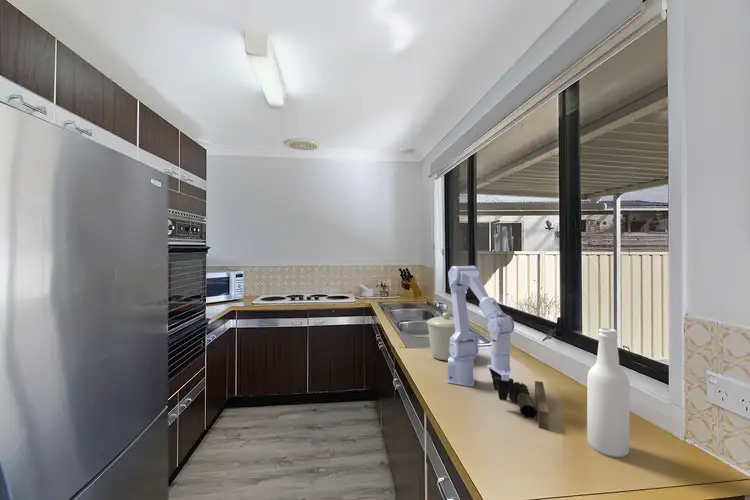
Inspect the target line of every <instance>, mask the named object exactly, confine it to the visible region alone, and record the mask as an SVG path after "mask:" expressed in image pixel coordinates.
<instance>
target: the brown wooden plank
mask: <svg viewBox="0 0 750 500" xmlns="http://www.w3.org/2000/svg"><path fill="white" fill-rule="evenodd" d="M534 398H535V408H536V410H537V413H538V414H537V416H536V418H537V423H538V429H544V430H549V429H550V423H549V422H550V421H549V420H550V417H549V415H550V414H549V412H550V411H549V407H548V401H547V397H546V391H545V386H544V382H543V381H538V380H534Z"/></svg>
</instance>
